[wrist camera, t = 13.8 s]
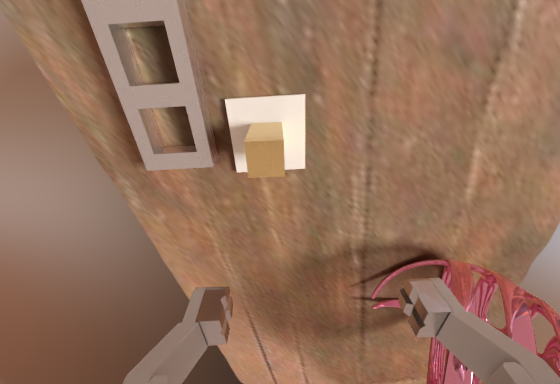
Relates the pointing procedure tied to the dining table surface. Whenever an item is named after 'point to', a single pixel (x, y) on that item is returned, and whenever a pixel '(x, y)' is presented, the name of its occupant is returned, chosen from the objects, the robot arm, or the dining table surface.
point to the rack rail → (143, 97)
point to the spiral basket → (483, 316)
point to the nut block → (265, 150)
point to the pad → (268, 111)
